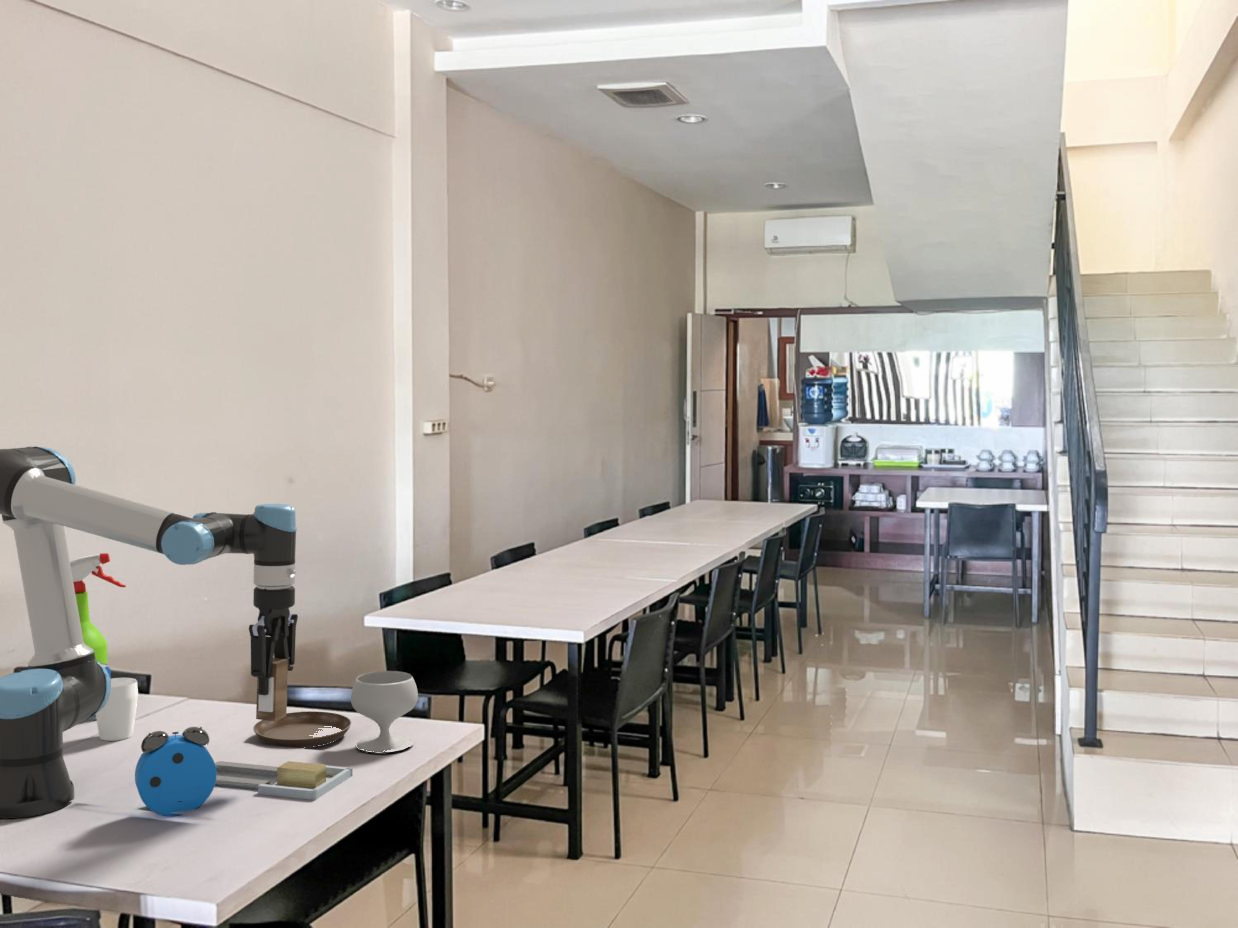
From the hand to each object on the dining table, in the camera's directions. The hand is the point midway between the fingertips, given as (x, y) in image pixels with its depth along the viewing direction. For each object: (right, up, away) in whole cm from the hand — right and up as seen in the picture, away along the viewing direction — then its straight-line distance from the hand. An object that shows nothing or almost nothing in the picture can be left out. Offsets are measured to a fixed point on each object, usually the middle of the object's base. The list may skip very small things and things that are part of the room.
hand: (272, 707), depth 217 cm
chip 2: (+8, -15, -1) cm, 17 cm away
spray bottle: (-67, -11, +69) cm, 97 cm away
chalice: (+16, -14, +27) cm, 34 cm away
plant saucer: (-3, -14, +33) cm, 36 cm away
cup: (-44, -13, +32) cm, 56 cm away
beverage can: (-55, -12, +47) cm, 74 cm away
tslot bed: (-7, -15, +3) cm, 17 cm away
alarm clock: (-13, -16, -13) cm, 25 cm away
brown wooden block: (0, -2, 0) cm, 2 cm away
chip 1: (+4, -15, 0) cm, 15 cm away
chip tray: (+7, -15, -1) cm, 17 cm away
